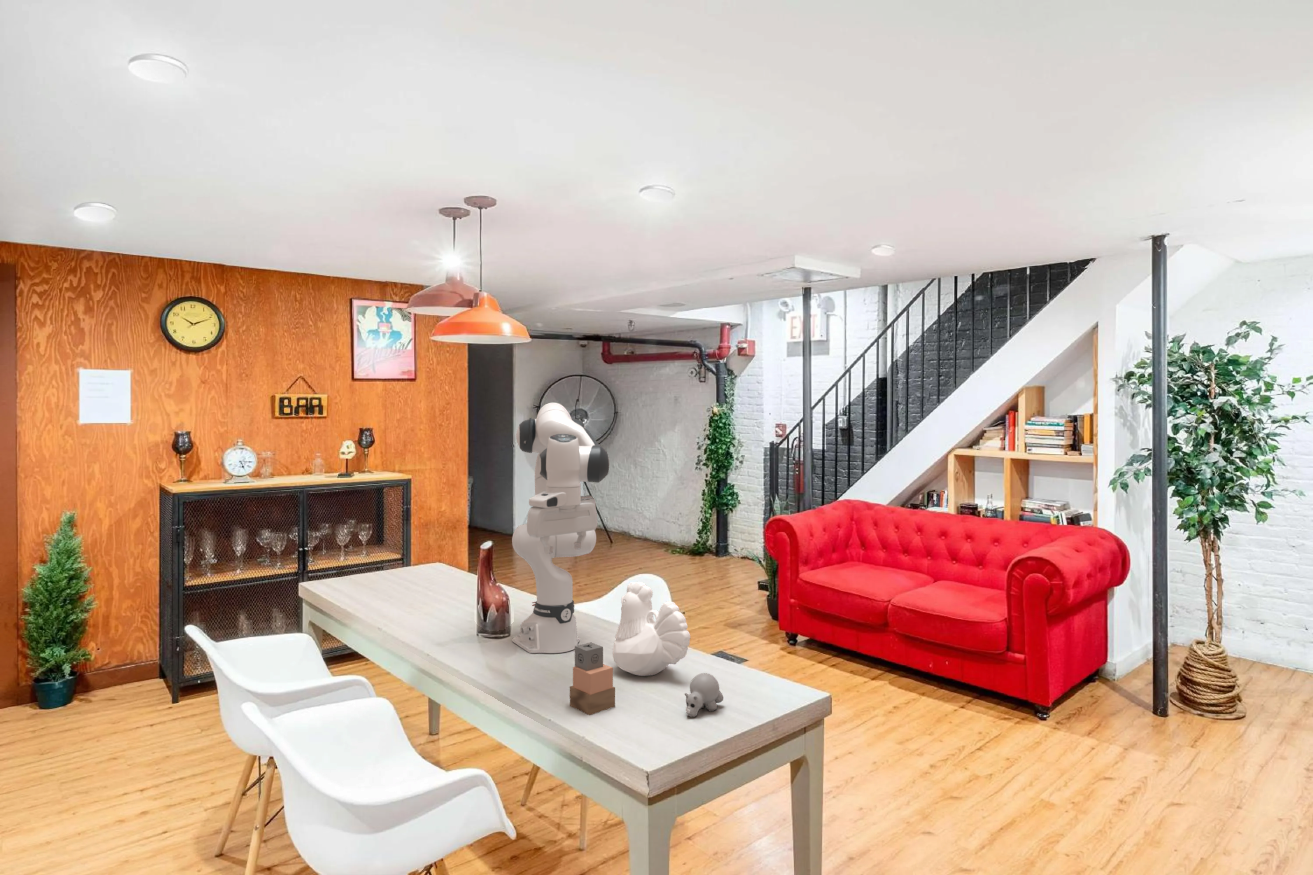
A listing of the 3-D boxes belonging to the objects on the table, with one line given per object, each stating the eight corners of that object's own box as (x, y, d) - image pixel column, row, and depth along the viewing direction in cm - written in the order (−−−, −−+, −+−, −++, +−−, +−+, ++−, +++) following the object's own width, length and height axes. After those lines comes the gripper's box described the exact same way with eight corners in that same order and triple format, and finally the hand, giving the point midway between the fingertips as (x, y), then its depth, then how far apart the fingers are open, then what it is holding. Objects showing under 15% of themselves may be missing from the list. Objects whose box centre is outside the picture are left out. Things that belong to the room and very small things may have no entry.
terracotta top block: (572, 686, 189) (572, 666, 189) (595, 680, 194) (595, 660, 193) (590, 694, 184) (590, 674, 184) (612, 687, 188) (612, 667, 188)
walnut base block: (569, 706, 189) (569, 686, 189) (595, 698, 195) (595, 678, 195) (589, 715, 183) (589, 695, 183) (615, 707, 189) (615, 687, 189)
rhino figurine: (678, 723, 185) (670, 694, 183) (705, 691, 194) (697, 664, 191) (702, 730, 181) (694, 701, 178) (728, 698, 189) (721, 670, 186)
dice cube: (591, 661, 193) (591, 642, 193) (603, 666, 189) (603, 646, 189) (574, 665, 190) (574, 646, 189) (586, 671, 186) (586, 650, 186)
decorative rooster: (602, 668, 217) (602, 581, 217) (648, 657, 226) (648, 574, 226) (652, 694, 197) (652, 599, 196) (700, 682, 206) (700, 590, 205)
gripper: (587, 493, 205) (587, 544, 206) (523, 499, 191) (523, 554, 191) (602, 495, 201) (602, 547, 201) (537, 501, 187) (538, 557, 187)
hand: (563, 551), depth 196 cm, fingers open, 8 cm apart
